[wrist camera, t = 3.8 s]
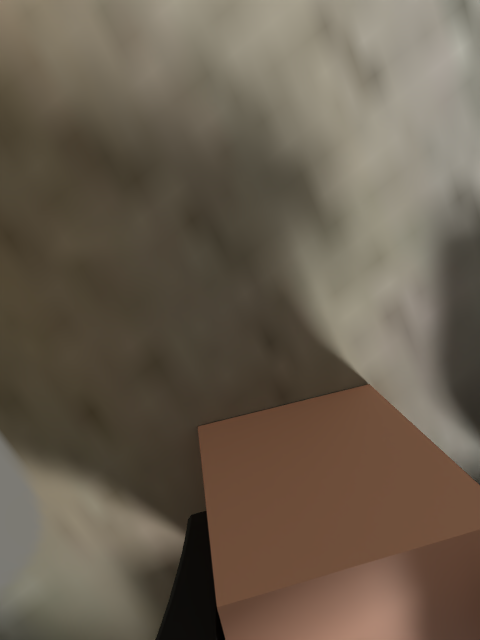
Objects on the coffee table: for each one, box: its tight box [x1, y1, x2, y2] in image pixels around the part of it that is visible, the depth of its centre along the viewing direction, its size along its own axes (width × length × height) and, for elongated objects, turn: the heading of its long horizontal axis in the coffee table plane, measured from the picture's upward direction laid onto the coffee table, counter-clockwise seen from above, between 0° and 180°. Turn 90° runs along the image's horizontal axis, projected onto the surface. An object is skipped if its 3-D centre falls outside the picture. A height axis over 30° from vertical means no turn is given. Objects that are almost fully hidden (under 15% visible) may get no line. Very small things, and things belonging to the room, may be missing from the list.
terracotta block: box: [198, 384, 480, 640], centre depth 9 cm, size 5×5×5 cm
